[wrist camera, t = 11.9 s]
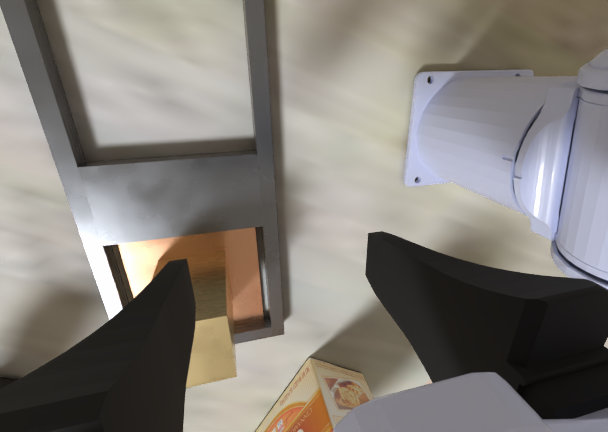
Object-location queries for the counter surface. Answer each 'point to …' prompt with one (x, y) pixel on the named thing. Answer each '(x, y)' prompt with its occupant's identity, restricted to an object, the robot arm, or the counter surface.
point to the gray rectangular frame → (166, 188)
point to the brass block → (210, 318)
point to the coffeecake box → (317, 399)
